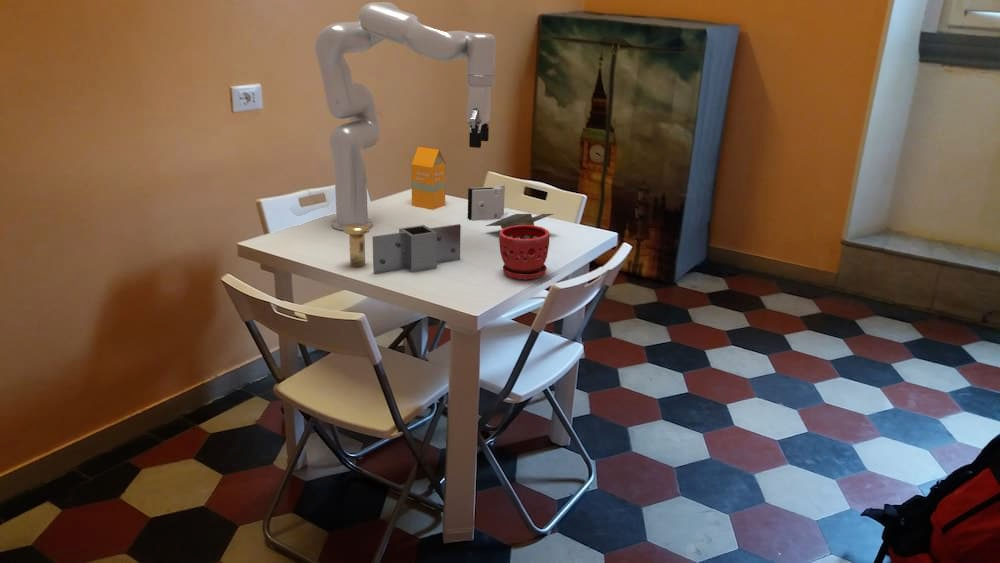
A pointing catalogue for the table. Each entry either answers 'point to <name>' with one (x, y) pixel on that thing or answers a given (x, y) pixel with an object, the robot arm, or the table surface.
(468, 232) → the table surface
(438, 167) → the orange juice
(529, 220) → the grey winged shape
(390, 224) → the table surface
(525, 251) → the plant pot
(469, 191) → the hinge
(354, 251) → the pin
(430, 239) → the grey socket bracket
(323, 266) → the table surface
